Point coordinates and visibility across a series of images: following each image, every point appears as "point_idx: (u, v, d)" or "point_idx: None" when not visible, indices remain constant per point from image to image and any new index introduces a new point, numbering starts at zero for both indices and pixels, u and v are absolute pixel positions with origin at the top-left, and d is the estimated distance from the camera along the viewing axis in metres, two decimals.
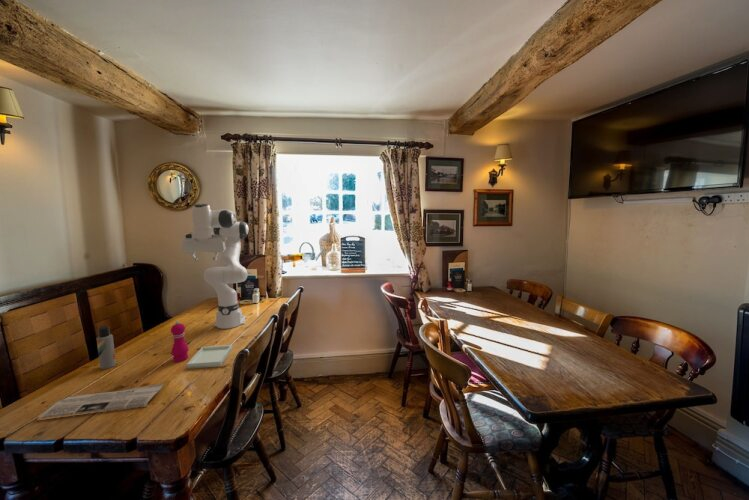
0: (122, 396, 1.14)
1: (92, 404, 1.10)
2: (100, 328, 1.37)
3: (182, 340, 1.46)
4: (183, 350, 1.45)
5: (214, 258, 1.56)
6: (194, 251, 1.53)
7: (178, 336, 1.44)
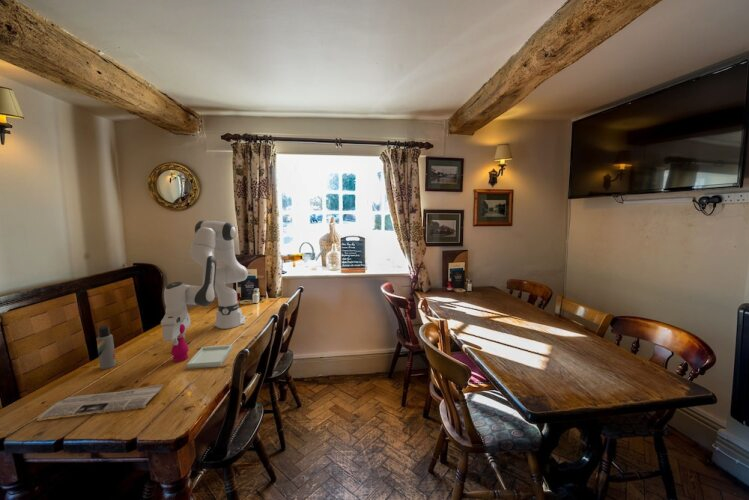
0: (121, 397, 1.14)
1: (91, 405, 1.09)
2: (100, 328, 1.37)
3: (182, 340, 1.46)
4: (183, 350, 1.45)
5: (184, 336, 1.50)
6: (177, 335, 1.42)
7: (178, 336, 1.44)
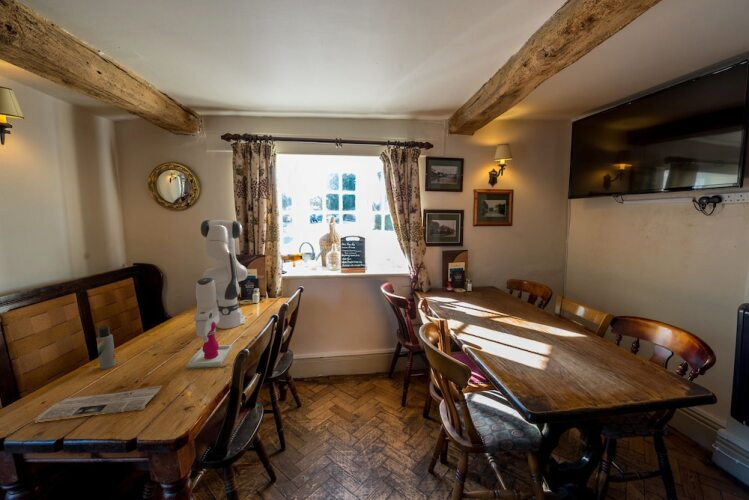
0: (119, 399, 1.13)
1: (89, 407, 1.08)
2: (100, 328, 1.37)
3: (213, 337, 1.47)
4: (214, 347, 1.46)
5: None
6: (209, 330, 1.42)
7: (209, 333, 1.45)
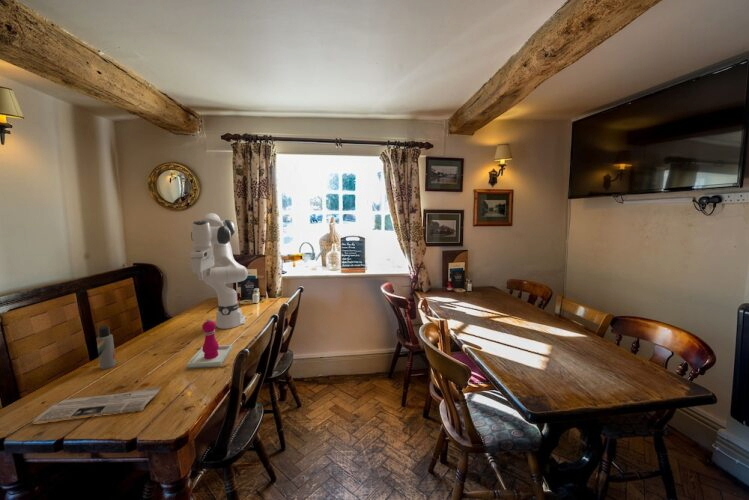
0: (118, 400, 1.12)
1: (88, 408, 1.08)
2: (100, 328, 1.37)
3: (213, 337, 1.47)
4: (214, 347, 1.46)
5: (210, 273, 1.60)
6: (204, 269, 1.51)
7: (209, 333, 1.45)
